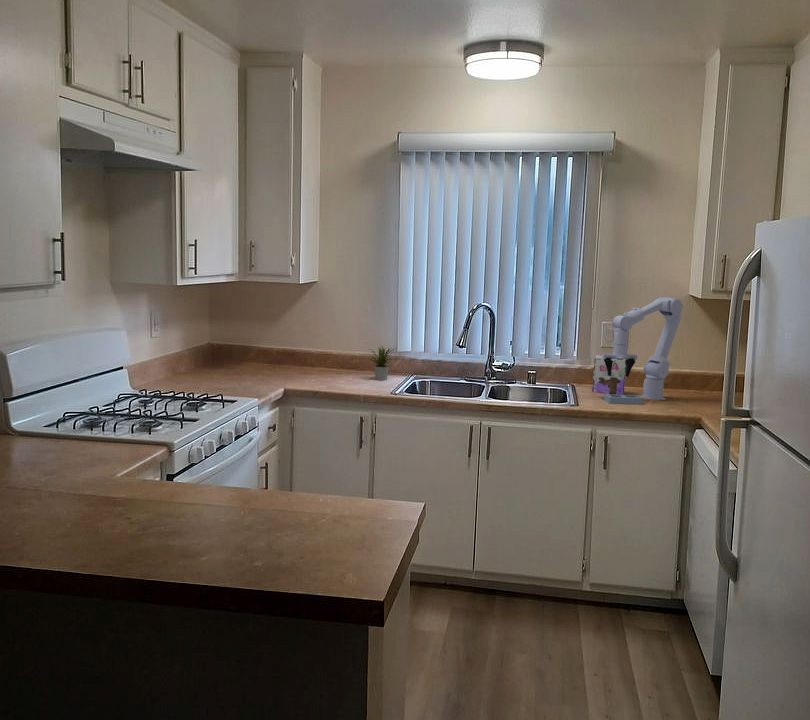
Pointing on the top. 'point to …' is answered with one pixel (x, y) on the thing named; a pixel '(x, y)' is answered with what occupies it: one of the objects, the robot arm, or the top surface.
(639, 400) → the hole block
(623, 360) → the candy box
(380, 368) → the house plant
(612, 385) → the dowel
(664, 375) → the robot arm
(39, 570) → the top surface
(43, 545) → the top surface
